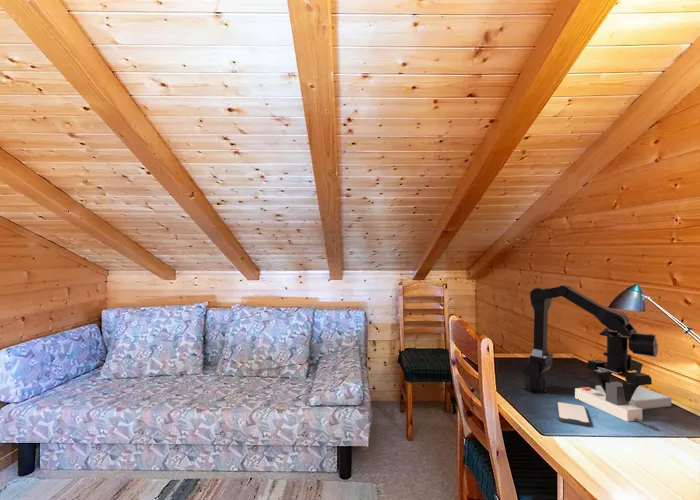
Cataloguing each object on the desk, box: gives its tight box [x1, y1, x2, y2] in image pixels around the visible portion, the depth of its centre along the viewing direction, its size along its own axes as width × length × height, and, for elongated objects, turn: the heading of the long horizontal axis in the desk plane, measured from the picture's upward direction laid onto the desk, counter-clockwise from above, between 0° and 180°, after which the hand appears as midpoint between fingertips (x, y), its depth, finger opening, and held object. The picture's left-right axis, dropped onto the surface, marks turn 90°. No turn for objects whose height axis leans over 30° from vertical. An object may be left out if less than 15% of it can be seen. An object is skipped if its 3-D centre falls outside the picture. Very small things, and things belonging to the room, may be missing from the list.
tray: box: [595, 384, 672, 411], centre depth 136 cm, size 16×16×3 cm
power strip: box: [574, 386, 659, 431], centre depth 125 cm, size 27×6×4 cm, turn 14°
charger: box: [606, 381, 629, 405], centre depth 124 cm, size 4×5×8 cm
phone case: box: [555, 401, 591, 428], centre depth 123 cm, size 9×2×16 cm
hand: (617, 397), depth 124 cm, fingers open, 7 cm apart
